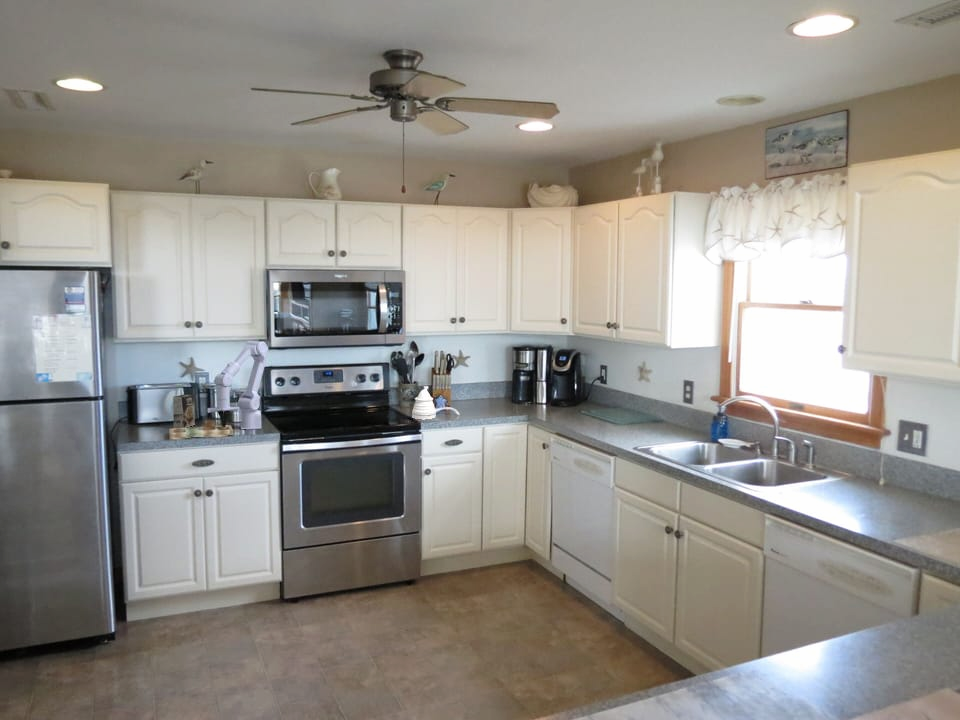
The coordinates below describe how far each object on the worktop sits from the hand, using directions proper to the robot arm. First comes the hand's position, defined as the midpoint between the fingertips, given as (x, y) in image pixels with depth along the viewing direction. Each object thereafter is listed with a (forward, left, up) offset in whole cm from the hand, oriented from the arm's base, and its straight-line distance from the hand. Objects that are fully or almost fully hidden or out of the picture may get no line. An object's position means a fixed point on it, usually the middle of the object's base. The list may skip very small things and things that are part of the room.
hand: (223, 426), depth 357 cm
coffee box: (+17, -21, -4) cm, 28 cm away
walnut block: (+6, 0, -1) cm, 6 cm away
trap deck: (+10, 0, -3) cm, 11 cm away
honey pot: (-104, -4, -4) cm, 104 cm away
